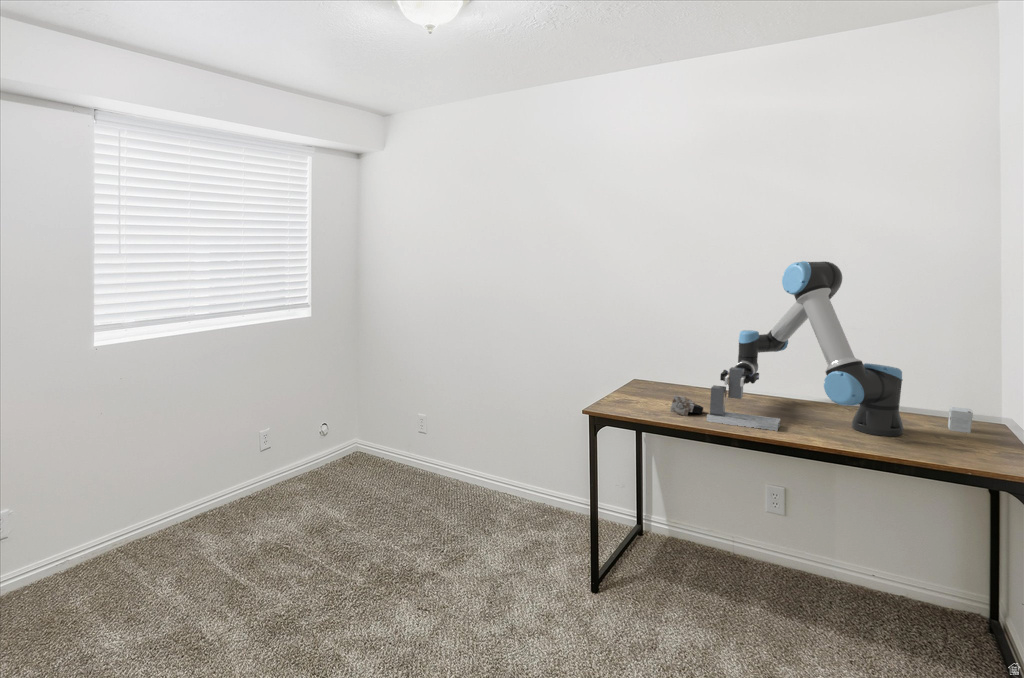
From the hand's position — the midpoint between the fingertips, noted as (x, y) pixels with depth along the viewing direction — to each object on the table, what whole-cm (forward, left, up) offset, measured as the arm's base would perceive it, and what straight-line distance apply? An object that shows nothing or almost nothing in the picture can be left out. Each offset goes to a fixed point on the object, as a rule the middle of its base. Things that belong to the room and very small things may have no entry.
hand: (733, 382), depth 210 cm
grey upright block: (0, -5, -7) cm, 8 cm away
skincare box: (-71, -27, -15) cm, 78 cm away
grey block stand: (-4, +3, -14) cm, 15 cm away
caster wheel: (+17, -2, -15) cm, 22 cm away
